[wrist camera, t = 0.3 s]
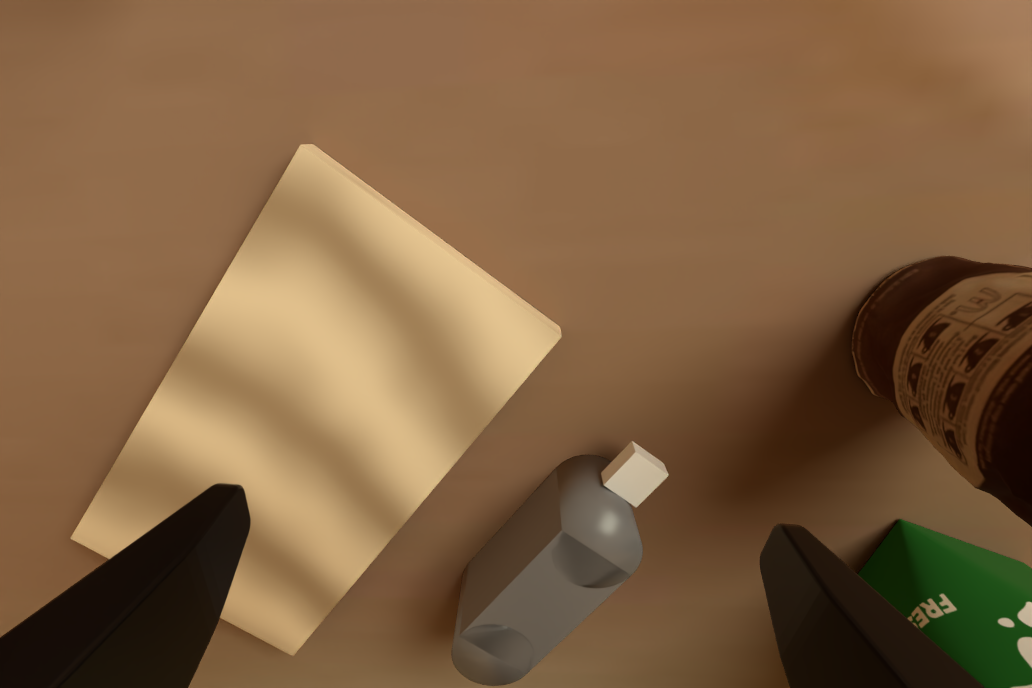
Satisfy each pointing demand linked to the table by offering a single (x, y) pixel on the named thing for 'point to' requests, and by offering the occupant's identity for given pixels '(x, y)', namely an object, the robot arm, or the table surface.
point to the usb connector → (552, 564)
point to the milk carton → (960, 600)
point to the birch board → (322, 394)
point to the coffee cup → (958, 366)
